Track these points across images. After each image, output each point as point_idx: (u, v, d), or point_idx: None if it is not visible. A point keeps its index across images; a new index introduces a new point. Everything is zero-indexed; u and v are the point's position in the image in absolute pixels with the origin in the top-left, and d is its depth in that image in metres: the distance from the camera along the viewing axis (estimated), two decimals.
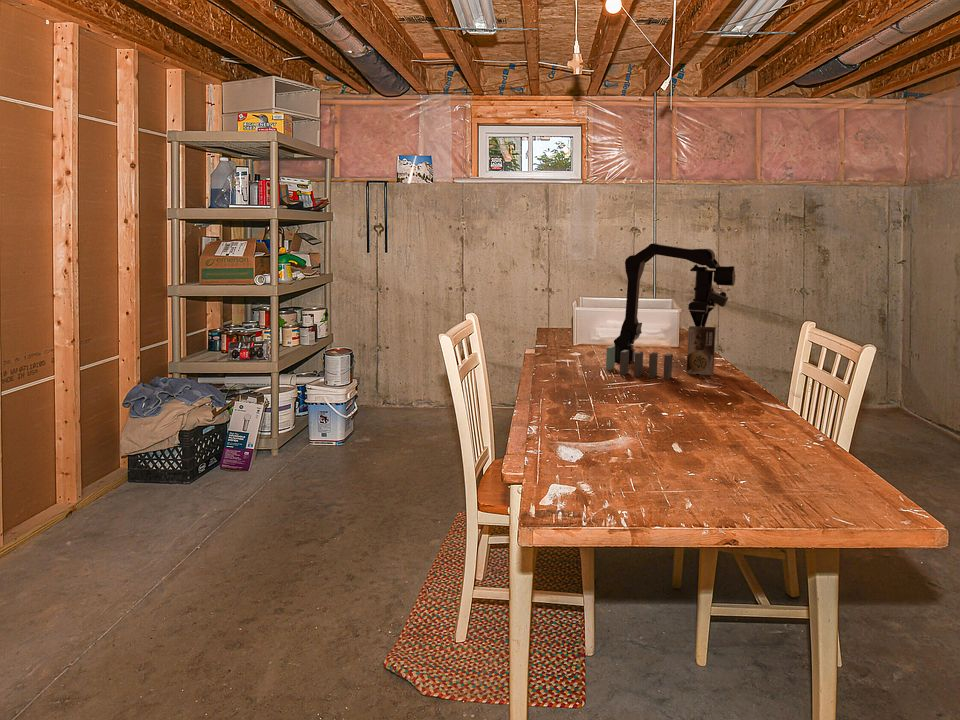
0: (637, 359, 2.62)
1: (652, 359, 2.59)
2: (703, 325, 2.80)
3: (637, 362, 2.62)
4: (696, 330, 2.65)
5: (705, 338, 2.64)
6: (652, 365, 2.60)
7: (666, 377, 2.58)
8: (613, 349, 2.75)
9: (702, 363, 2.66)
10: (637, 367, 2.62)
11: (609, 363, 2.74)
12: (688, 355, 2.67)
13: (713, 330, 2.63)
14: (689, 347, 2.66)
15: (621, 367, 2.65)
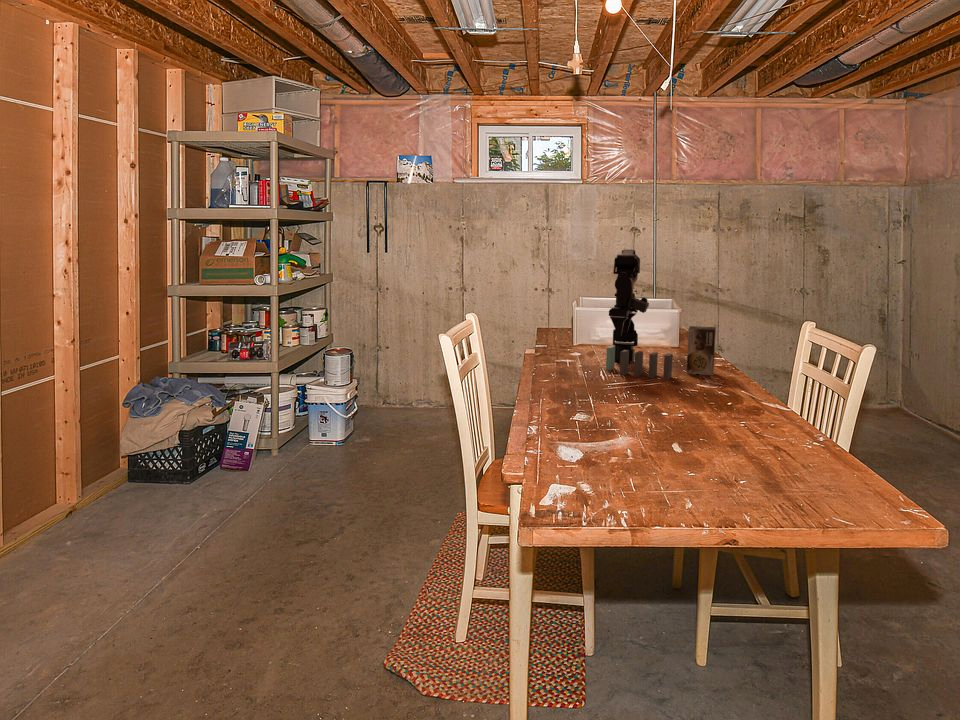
0: (637, 359, 2.62)
1: (652, 359, 2.59)
2: (625, 331, 2.78)
3: (637, 362, 2.62)
4: (696, 330, 2.64)
5: (706, 338, 2.64)
6: (652, 365, 2.60)
7: (666, 377, 2.58)
8: (613, 349, 2.75)
9: (702, 364, 2.66)
10: (637, 367, 2.62)
11: (609, 363, 2.74)
12: (688, 355, 2.67)
13: (713, 330, 2.63)
14: (689, 347, 2.66)
15: (621, 367, 2.65)
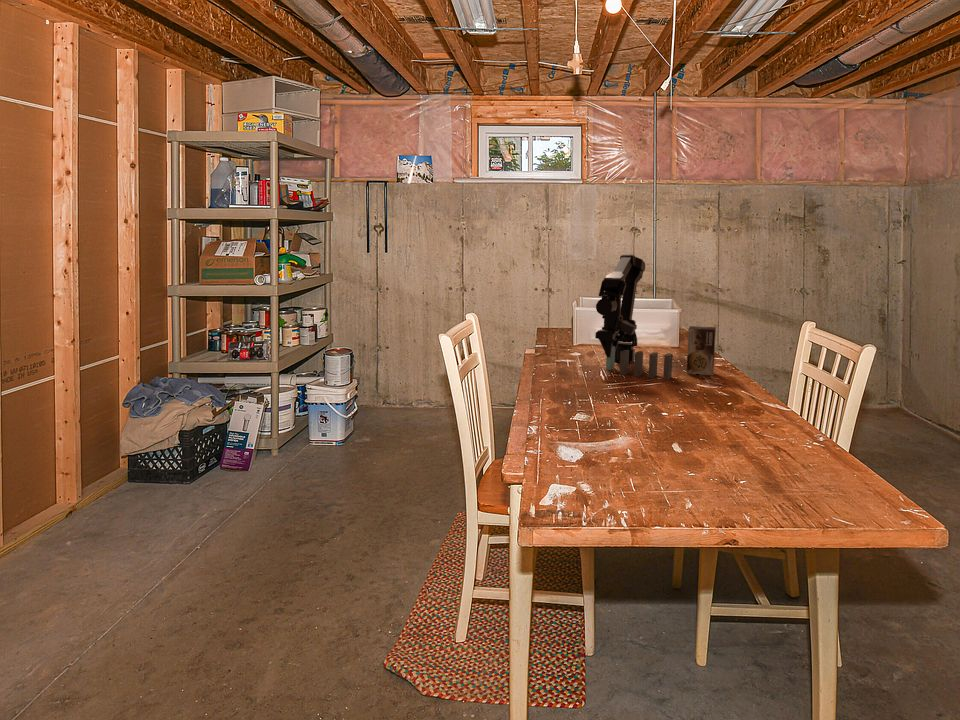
0: (637, 359, 2.62)
1: (652, 359, 2.59)
2: None
3: (637, 362, 2.62)
4: (696, 330, 2.64)
5: (706, 338, 2.64)
6: (652, 365, 2.60)
7: (666, 377, 2.58)
8: (613, 349, 2.75)
9: (702, 363, 2.66)
10: (637, 367, 2.62)
11: (609, 363, 2.74)
12: (688, 355, 2.67)
13: (713, 330, 2.63)
14: (689, 347, 2.66)
15: (621, 367, 2.65)
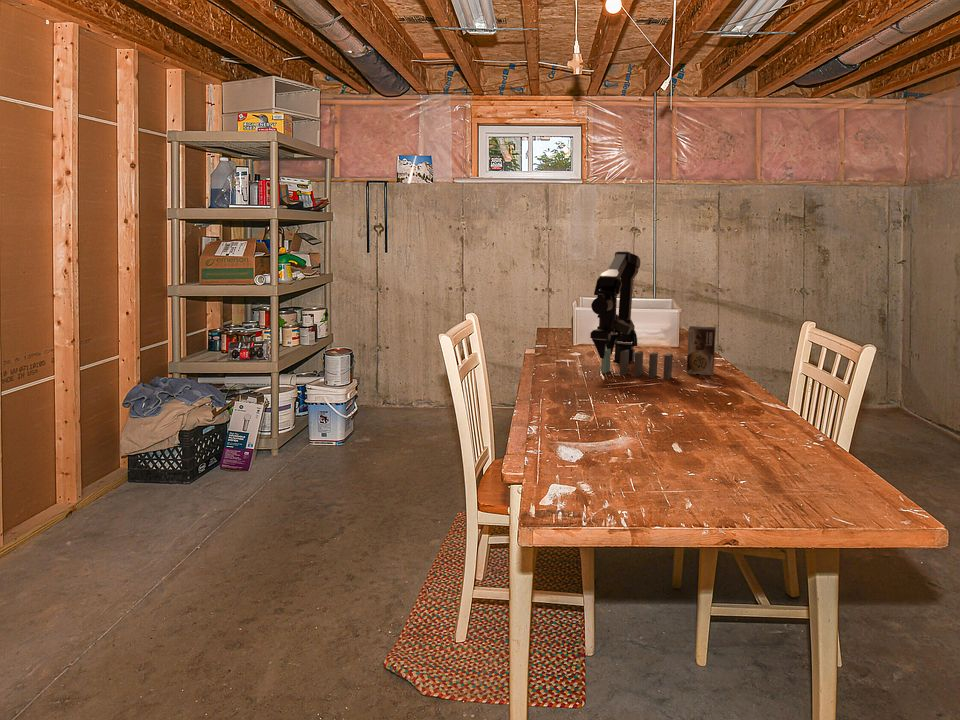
0: (637, 359, 2.62)
1: (652, 359, 2.59)
2: None
3: (637, 362, 2.62)
4: (696, 330, 2.64)
5: (706, 338, 2.64)
6: (652, 365, 2.60)
7: (666, 377, 2.58)
8: (609, 352, 2.69)
9: (702, 363, 2.66)
10: (637, 367, 2.62)
11: (604, 366, 2.67)
12: (688, 355, 2.67)
13: (713, 330, 2.63)
14: (689, 347, 2.66)
15: (621, 367, 2.65)
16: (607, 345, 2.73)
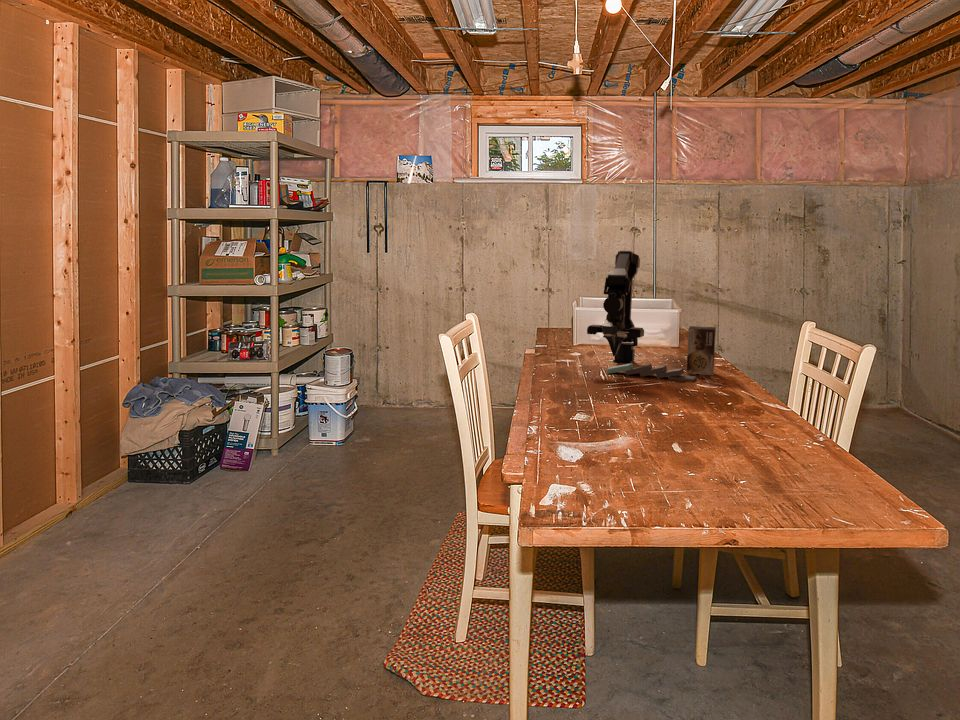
0: (657, 371, 2.60)
1: (675, 374, 2.57)
2: None
3: (654, 372, 2.60)
4: (696, 330, 2.64)
5: (706, 338, 2.64)
6: (669, 375, 2.58)
7: (670, 379, 2.58)
8: None
9: (702, 363, 2.66)
10: (649, 373, 2.61)
11: (613, 371, 2.66)
12: (688, 355, 2.67)
13: (713, 330, 2.63)
14: (689, 347, 2.66)
15: (633, 370, 2.63)
16: None
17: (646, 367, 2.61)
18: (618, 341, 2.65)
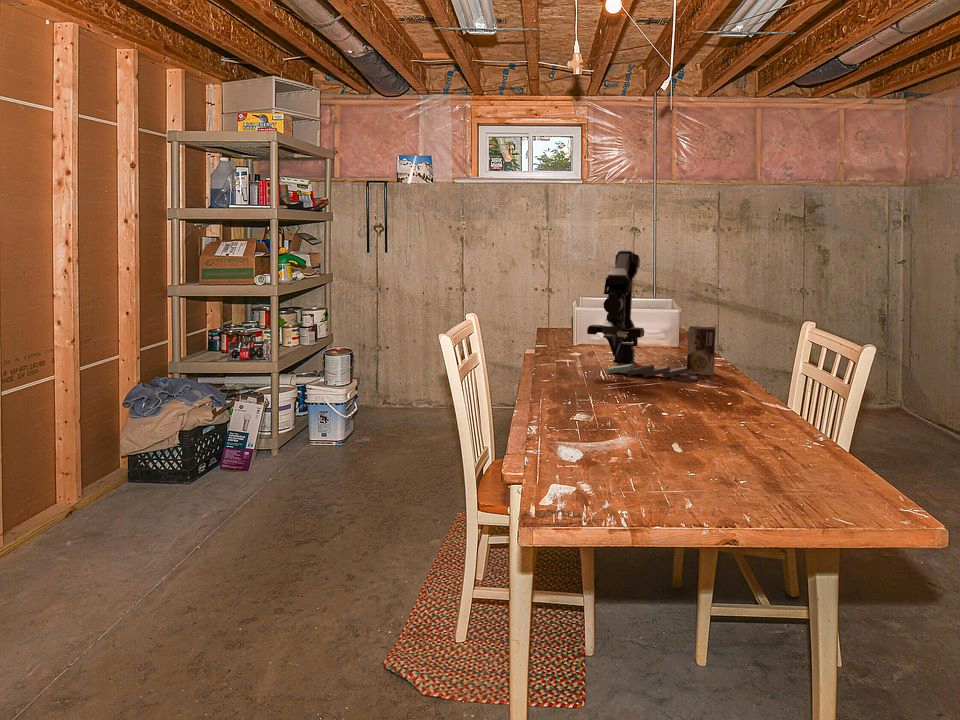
0: (660, 372, 2.59)
1: (681, 372, 2.57)
2: None
3: (657, 372, 2.60)
4: (696, 330, 2.64)
5: (706, 338, 2.64)
6: (675, 374, 2.58)
7: None
8: None
9: (702, 363, 2.66)
10: (652, 374, 2.60)
11: (614, 371, 2.66)
12: (688, 355, 2.67)
13: (713, 330, 2.63)
14: (689, 347, 2.66)
15: (634, 371, 2.63)
16: None
17: (648, 368, 2.60)
18: (618, 341, 2.65)
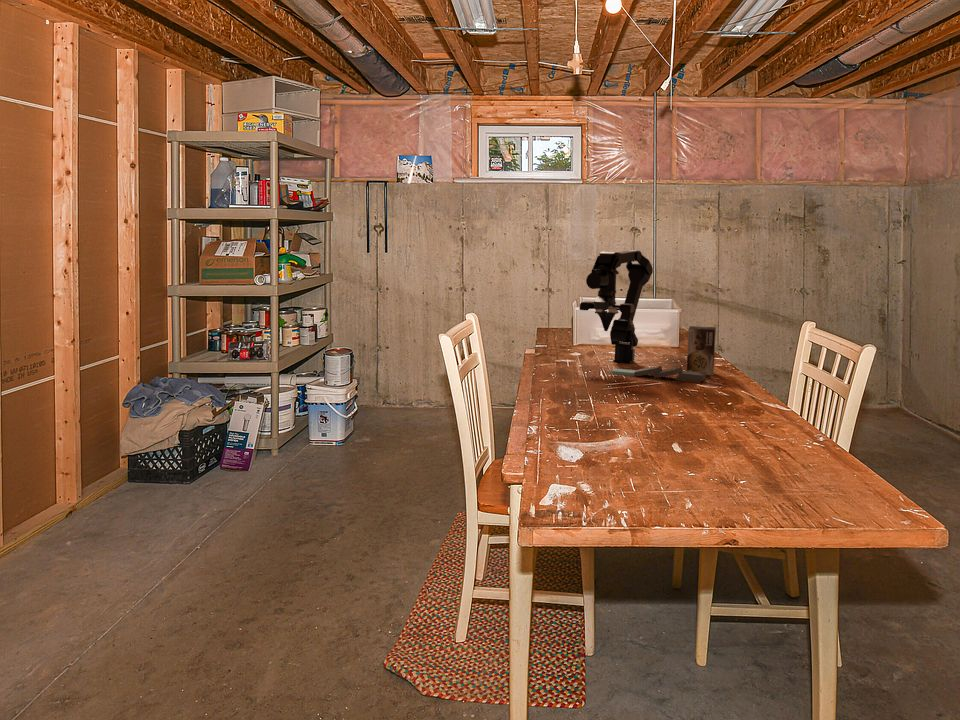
0: (669, 373, 2.56)
1: (697, 378, 2.54)
2: None
3: (666, 374, 2.57)
4: (696, 330, 2.64)
5: (706, 338, 2.64)
6: (691, 378, 2.54)
7: None
8: None
9: (702, 363, 2.66)
10: (662, 375, 2.58)
11: None
12: (688, 355, 2.67)
13: (713, 330, 2.63)
14: (689, 347, 2.66)
15: (642, 372, 2.62)
16: None
17: (655, 369, 2.59)
18: (609, 317, 2.75)
